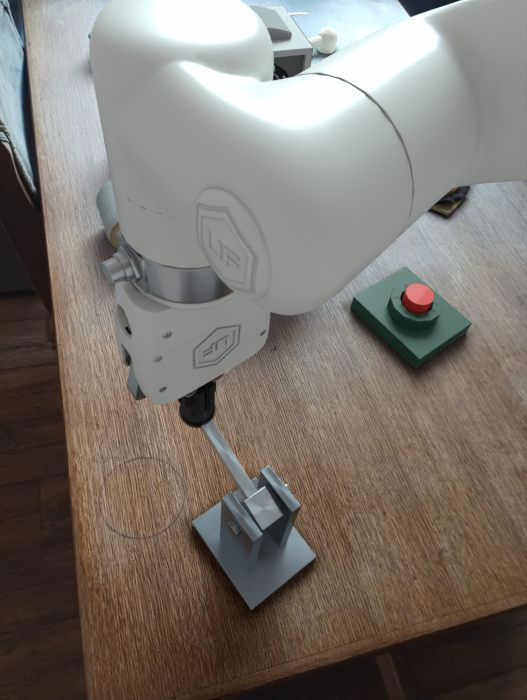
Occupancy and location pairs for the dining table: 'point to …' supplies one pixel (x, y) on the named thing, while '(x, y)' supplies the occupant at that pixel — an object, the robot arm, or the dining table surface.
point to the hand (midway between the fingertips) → (196, 400)
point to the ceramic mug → (108, 212)
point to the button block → (409, 318)
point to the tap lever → (235, 470)
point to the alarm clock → (285, 42)
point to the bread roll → (450, 200)
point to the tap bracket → (255, 542)
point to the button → (417, 298)
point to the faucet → (322, 38)
